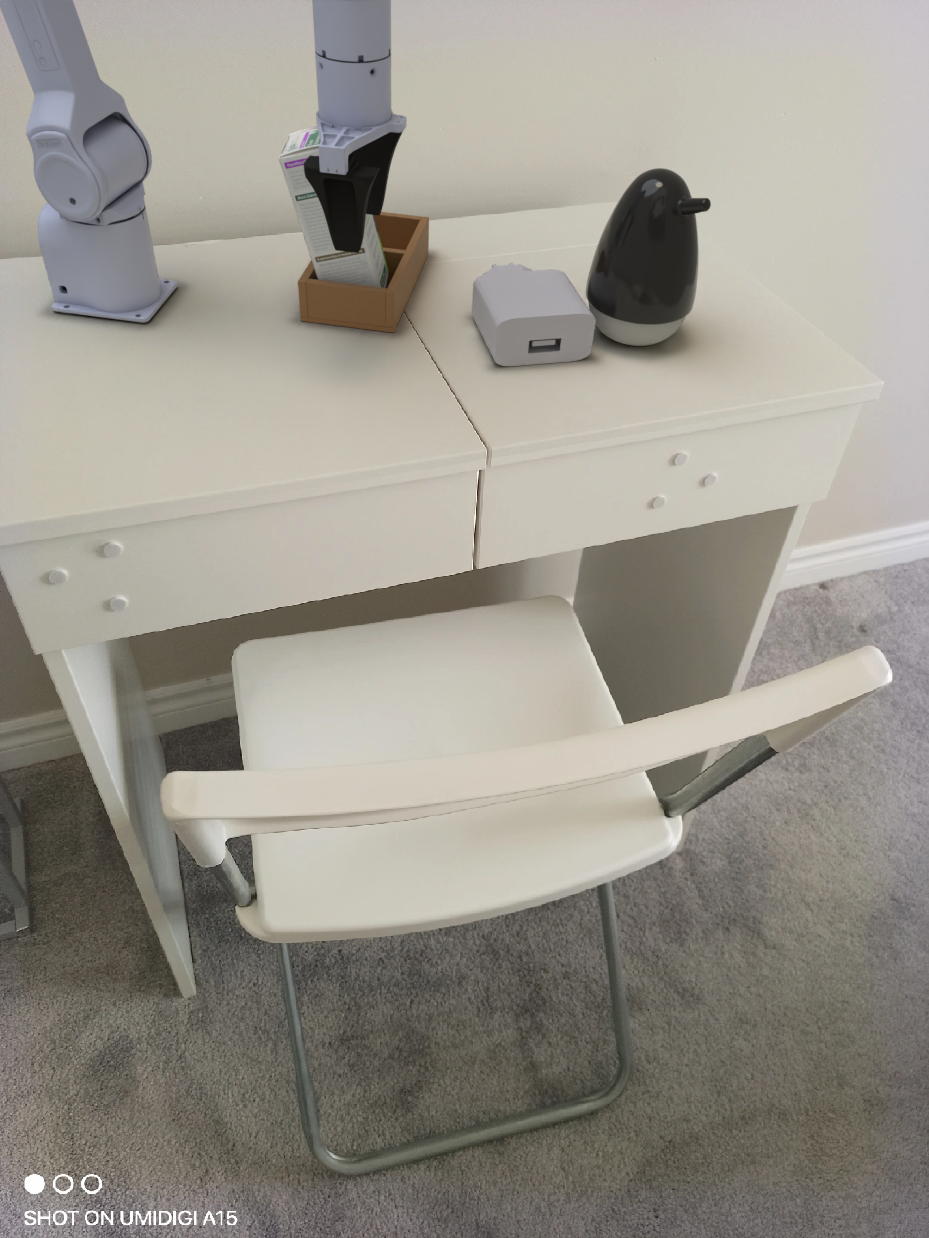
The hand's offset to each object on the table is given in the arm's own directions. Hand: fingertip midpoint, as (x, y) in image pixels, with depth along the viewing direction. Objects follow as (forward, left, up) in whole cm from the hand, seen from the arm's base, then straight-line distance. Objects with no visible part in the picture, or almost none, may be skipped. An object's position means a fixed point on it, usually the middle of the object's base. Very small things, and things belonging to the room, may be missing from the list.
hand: (358, 231), depth 81 cm
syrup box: (-2, +7, -9) cm, 12 cm away
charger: (+14, +7, -11) cm, 19 cm away
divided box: (-2, +11, -10) cm, 15 cm away
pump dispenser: (+25, +8, -11) cm, 28 cm away
